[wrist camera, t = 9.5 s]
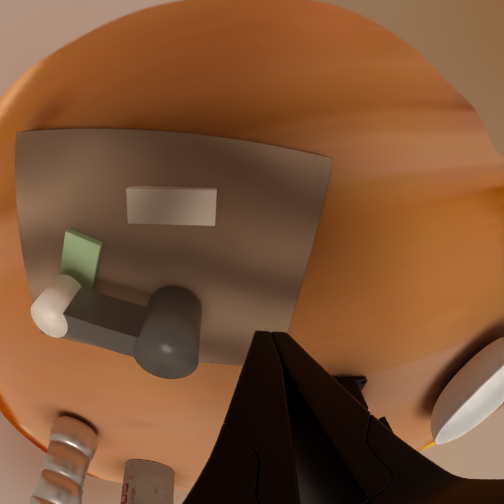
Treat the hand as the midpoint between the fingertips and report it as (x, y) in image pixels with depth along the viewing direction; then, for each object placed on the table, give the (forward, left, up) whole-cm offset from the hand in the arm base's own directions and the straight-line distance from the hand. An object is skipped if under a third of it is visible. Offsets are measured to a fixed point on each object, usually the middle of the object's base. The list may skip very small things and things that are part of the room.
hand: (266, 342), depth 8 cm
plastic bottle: (-31, +17, -12) cm, 37 cm away
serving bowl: (-19, -39, -12) cm, 44 cm away
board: (-4, +5, -12) cm, 14 cm away
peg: (-6, +7, -10) cm, 13 cm away
